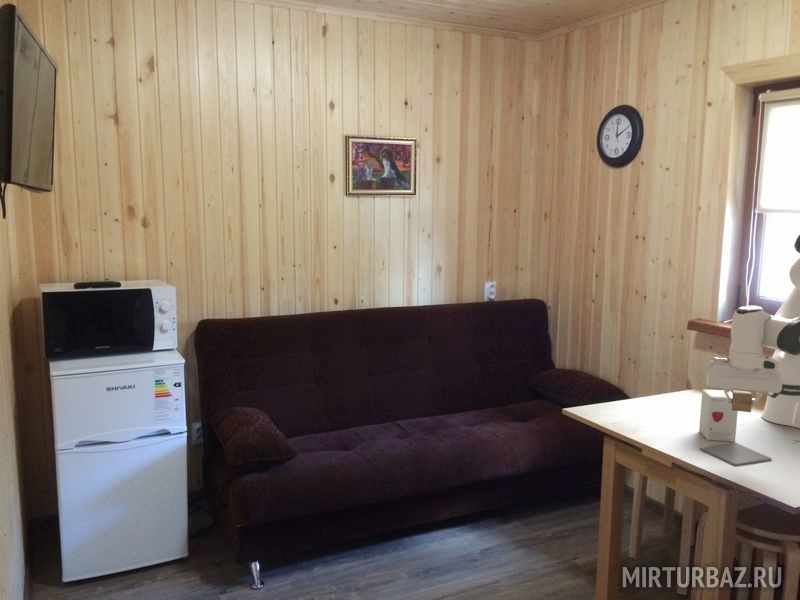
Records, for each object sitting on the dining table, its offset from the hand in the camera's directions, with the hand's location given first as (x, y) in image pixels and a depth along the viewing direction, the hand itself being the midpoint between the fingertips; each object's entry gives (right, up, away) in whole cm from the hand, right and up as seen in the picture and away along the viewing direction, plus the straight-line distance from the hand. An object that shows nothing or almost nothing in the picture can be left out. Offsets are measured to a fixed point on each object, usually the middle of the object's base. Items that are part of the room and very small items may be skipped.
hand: (741, 403), depth 200 cm
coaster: (-1, -16, +3) cm, 17 cm away
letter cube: (0, -2, 0) cm, 2 cm away
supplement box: (+2, -14, +19) cm, 24 cm away
